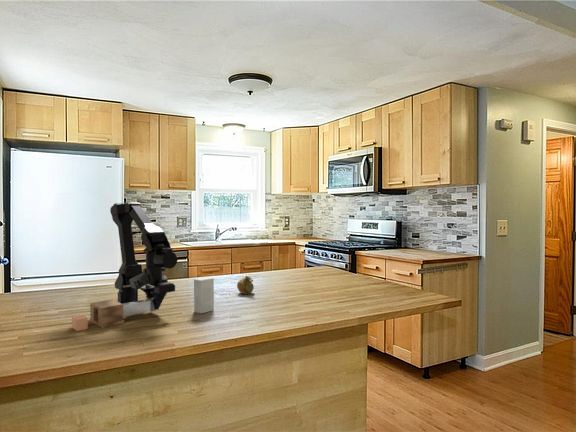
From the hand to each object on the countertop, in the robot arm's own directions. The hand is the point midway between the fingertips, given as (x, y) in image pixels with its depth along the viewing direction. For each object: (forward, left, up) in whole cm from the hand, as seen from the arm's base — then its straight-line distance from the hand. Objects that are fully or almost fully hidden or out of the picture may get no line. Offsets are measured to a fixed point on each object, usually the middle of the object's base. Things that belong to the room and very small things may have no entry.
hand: (154, 308), depth 145 cm
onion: (-44, 0, -2) cm, 44 cm away
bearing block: (+17, 0, -1) cm, 17 cm away
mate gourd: (-17, -26, -2) cm, 31 cm away
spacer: (+24, 0, 0) cm, 24 cm away
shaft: (+9, 0, 0) cm, 9 cm away
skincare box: (-14, +11, -2) cm, 18 cm away
